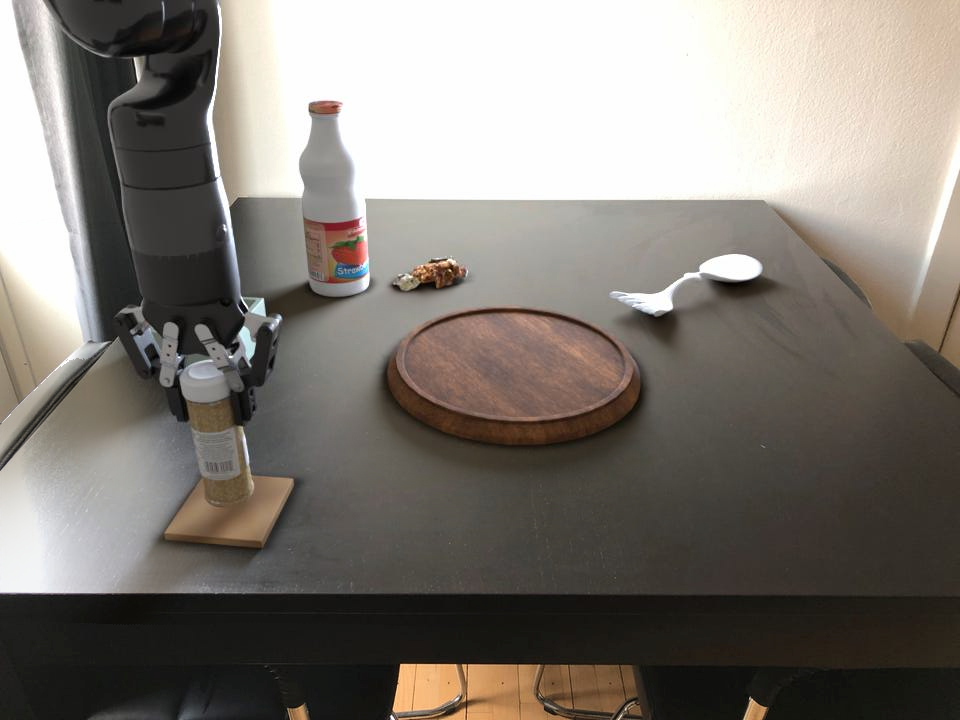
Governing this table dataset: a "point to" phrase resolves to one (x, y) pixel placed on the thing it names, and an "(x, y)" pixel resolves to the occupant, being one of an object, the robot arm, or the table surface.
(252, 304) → the tub
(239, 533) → the plate
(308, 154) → the fruit juice
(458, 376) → the cutting board
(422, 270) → the pastry
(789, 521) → the table surface
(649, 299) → the spoon
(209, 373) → the sprinkles bottle
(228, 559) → the table surface
